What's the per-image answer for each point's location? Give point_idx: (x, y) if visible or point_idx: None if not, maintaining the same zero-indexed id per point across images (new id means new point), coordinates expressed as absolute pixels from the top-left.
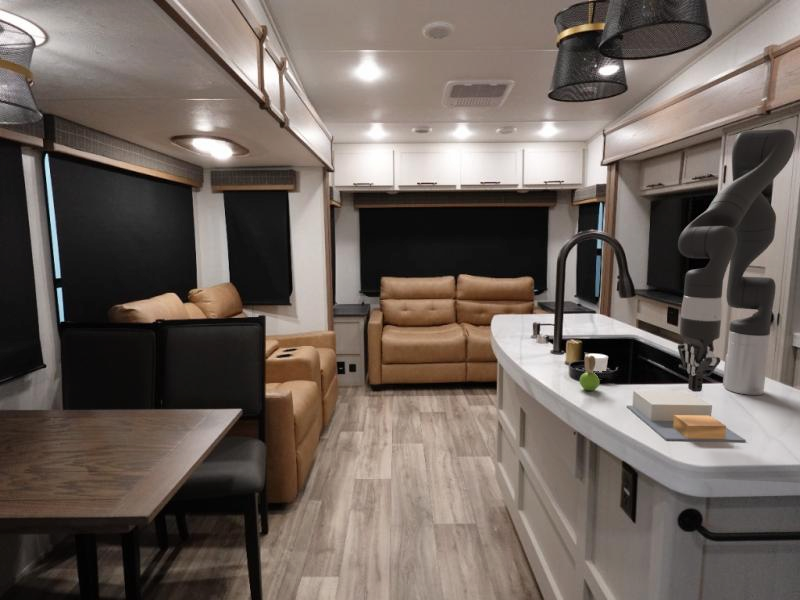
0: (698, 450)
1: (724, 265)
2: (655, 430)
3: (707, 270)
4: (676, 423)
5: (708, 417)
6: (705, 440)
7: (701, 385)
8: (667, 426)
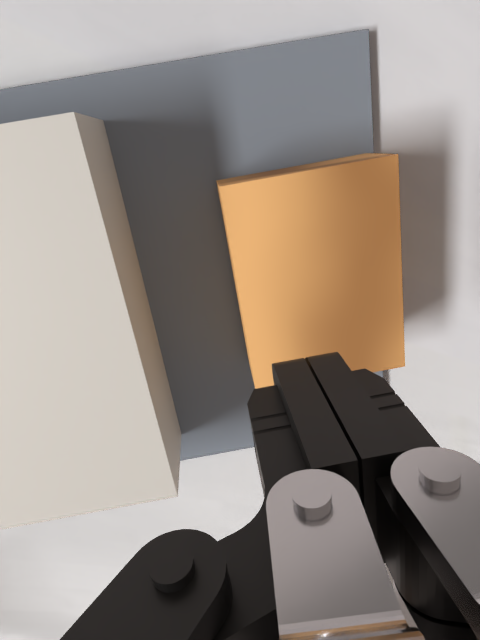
0: (473, 322)
1: None
2: None
3: None
4: None
5: (259, 207)
6: None
7: (396, 400)
8: (244, 382)
